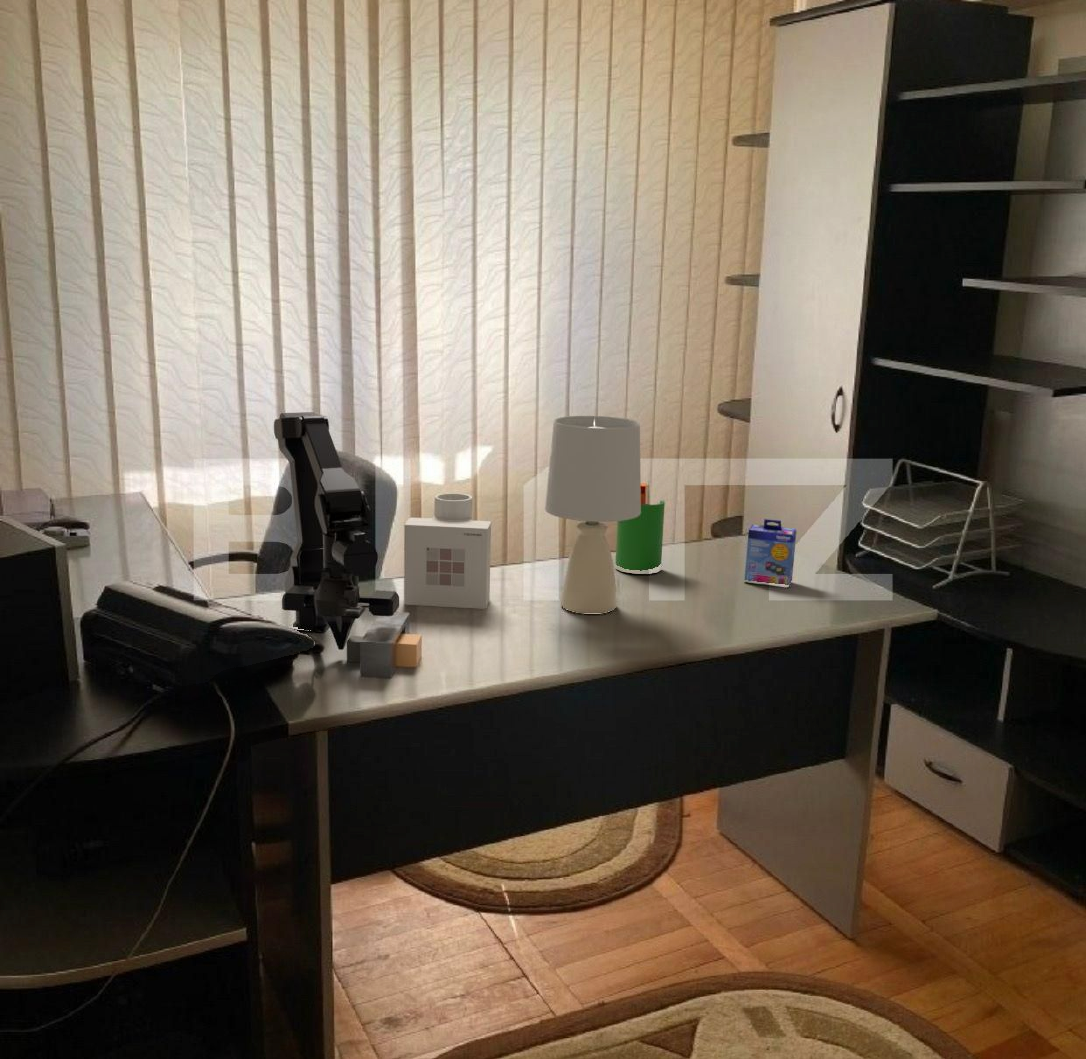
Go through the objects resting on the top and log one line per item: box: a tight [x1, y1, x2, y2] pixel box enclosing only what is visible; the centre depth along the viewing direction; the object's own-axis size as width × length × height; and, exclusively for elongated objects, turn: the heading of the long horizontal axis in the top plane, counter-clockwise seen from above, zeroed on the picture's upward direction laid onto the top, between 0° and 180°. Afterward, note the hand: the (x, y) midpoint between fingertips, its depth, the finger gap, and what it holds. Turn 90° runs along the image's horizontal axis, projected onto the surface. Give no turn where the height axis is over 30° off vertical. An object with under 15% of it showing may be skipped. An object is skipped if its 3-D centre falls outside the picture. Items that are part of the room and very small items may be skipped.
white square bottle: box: [403, 492, 492, 610], centre depth 227 cm, size 16×19×20 cm
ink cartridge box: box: [743, 518, 797, 586], centre depth 242 cm, size 10×6×14 cm, turn 72°
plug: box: [346, 633, 423, 668], centre depth 190 cm, size 5×12×4 cm, turn 86°
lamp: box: [544, 415, 642, 613], centre depth 219 cm, size 19×19×37 cm
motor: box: [615, 483, 666, 571], centre depth 248 cm, size 10×9×20 cm
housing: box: [359, 611, 411, 679], centre depth 190 cm, size 16×5×6 cm, turn 176°
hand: (341, 649), depth 191 cm, fingers closed
